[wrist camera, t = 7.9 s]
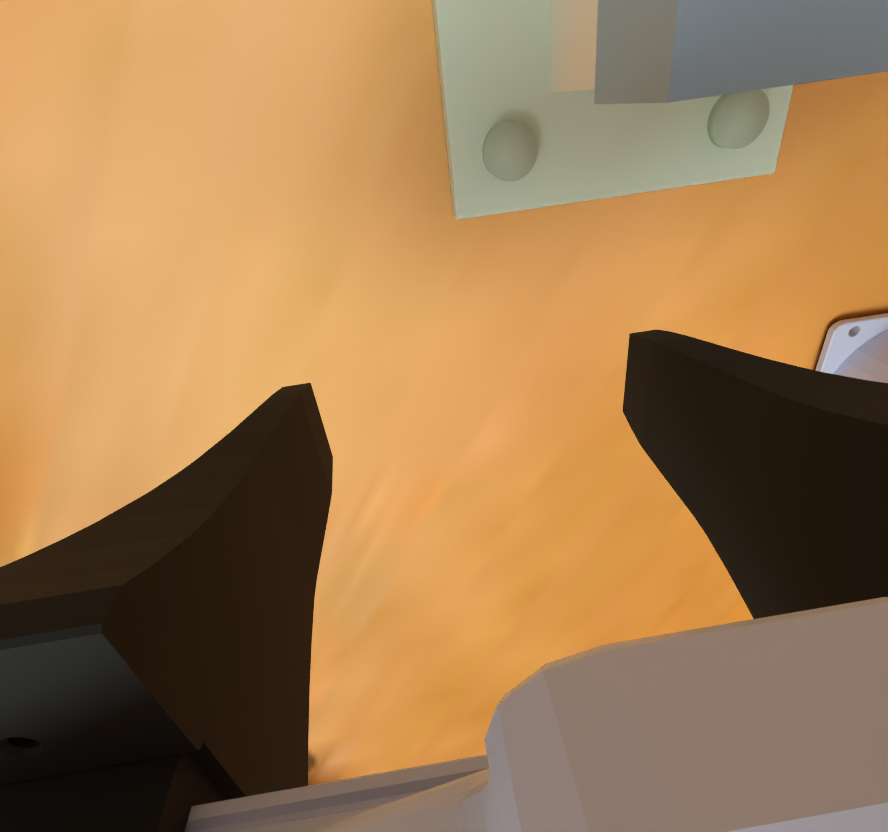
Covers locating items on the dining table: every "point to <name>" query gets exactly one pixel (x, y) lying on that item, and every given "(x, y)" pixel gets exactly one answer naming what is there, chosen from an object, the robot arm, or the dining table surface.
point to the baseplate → (576, 122)
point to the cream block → (573, 44)
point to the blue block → (732, 46)
